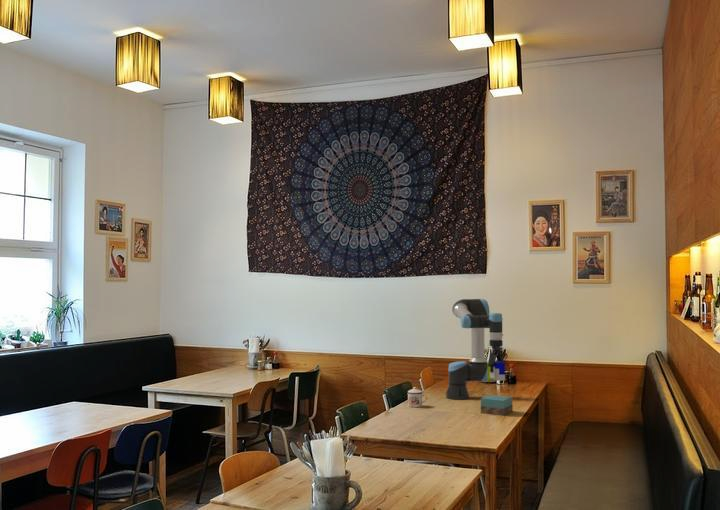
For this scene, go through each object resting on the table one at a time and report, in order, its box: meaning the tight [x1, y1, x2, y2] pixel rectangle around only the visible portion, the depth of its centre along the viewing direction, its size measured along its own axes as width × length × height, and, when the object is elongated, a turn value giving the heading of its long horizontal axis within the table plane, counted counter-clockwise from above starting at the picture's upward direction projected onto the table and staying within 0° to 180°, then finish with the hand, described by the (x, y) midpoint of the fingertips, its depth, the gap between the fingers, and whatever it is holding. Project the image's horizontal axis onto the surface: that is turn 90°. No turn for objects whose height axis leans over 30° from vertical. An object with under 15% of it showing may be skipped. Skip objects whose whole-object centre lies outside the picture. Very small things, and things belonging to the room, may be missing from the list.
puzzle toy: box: [487, 360, 506, 381], centre depth 389 cm, size 10×10×10 cm
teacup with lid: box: [407, 386, 428, 408], centre depth 407 cm, size 12×9×12 cm
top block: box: [480, 394, 513, 409], centre depth 389 cm, size 14×14×4 cm
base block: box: [480, 404, 514, 417], centre depth 388 cm, size 14×14×4 cm
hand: (496, 376), depth 389 cm, fingers closed on puzzle toy, 12 cm apart
